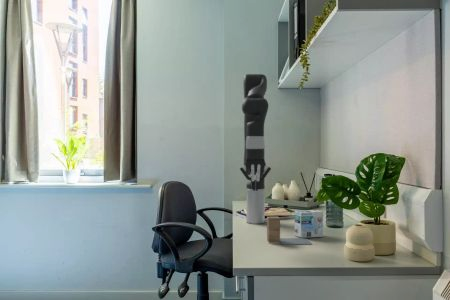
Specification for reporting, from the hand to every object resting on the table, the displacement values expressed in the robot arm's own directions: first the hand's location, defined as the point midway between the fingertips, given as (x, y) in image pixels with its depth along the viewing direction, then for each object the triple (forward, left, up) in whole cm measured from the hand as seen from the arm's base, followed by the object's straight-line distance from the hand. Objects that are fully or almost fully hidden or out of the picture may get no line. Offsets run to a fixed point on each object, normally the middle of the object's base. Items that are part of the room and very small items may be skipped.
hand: (255, 190), depth 163 cm
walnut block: (0, +8, -21) cm, 22 cm away
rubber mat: (0, +16, -21) cm, 26 cm away
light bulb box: (-9, +24, -21) cm, 34 cm away
